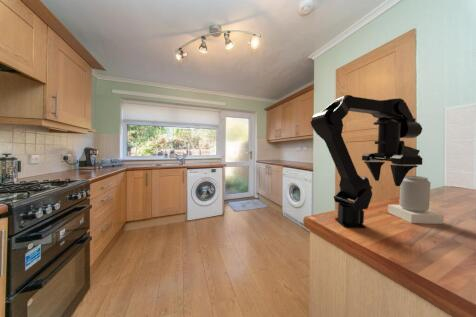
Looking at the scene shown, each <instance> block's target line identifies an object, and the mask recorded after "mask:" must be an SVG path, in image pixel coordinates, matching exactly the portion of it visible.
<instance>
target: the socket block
mask: <svg viewBox="0 0 476 317" xmlns="http://www.w3.org/2000/svg"><path fill="white" fill-rule="evenodd" d="M387 213H389V214H391V215H393V216H395V217H398V218H400V219H402V220H404V221H406V222H407V223H411V224H432V225H433V224H435V225H436V224H437V225H439V224H441V225H444V220H445V219H444V218H445V215H444V214H442V213H440V212H436V211H433V210H431V209H429V210H427V211H425V212H415V211H410V210H406V209H404V208H402V207H401V206H400V205H399V204H387Z"/></svg>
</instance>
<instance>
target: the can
mask: <svg viewBox="0 0 476 317" xmlns="http://www.w3.org/2000/svg"><path fill="white" fill-rule="evenodd" d="M428 179H429V178H428V177H426V176H418V175H406V176H405V178H404V179H403V181H402V183H401V185H400V186H399V201H398V202H399V204H398V205H400V206H401V207H402V208H404V209H406V210H410V211H415V212H425V211H427V210H430V196H431V184H432V182H431V181H430V180H428Z"/></svg>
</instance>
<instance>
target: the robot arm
mask: <svg viewBox="0 0 476 317" xmlns="http://www.w3.org/2000/svg"><path fill="white" fill-rule="evenodd" d="M349 112H352V113H353V112H354V113H362V114H369V115H371V116H372V117H373V118H376V119H377V120H375V121H374V122H373V125H376V126H378V128H377V129H378V130H377V131H378V133H377V140H376V141H374V145H377V150H376V151H377V152H374V153H370V152H368V153H367V152H366V153H364V154H362V155H361V161H363V162H364V164H365V165H366V167H367V168H368V169H369V171H370V174H371V175H372V177H373V179H374V181H375V182H377V181H380V176H381V171H382V170H381V169H382V166H383V165H384V164H385V163H386V162H391V164H390V170H391V174H392V178H393V183H394V186H396V187H400V185H401V183H402V181H403V179H404V178H405V176H407V174H408V173H409V171H411V170H412V169H414V168H418V167H419V166H420V165H421V166H423V157H422V156H420V155H419V154H420V149H417V148H413V147H411V146H406V145H405V141H404V140H401V139H415V138H418V137H419V136H420V135H421V134H422V132H423V127H422V125H421V124H420V123H419V122H417V121H416V120H417V119H416V118H415V117H414V116H413V114H412V112H411V110H410V108H409V106H408V105H407V102H406V101H405V100H404V99H403V98H391V99H382V100H381V99H374V98H366V97H359V96H353V95H350V94H346V95H343V96H340V97H337V98H336V99H334V101H333V102H331V103H330V104H329V105H328V106H326V107H325V108H324V109H322V110H321V111H319V112H316V113H315V114H314V115H312V117H311V120H310V125H311V128H312V129H313V131H314V132H315V134H316V135H317V136H319V137H320V138H321V139H322V140H323V141H324V142H325V144H326V148H327V149H328V152H329V155H330V156H331V159H332V160H333V163H334V165H335V168H336V171H337V173H338V175H339V177H340V180H339V184H338V185H339V186H338V187H339V190H338V191H337V192H336V193H335V194H334V196H333V200H334V202H335V203H337V217H335V220H336V221H337V222H338V223H339V224H340V225H342V226H343V227H345V228H361V229H363V228H366V225H365V224H364V222H365V220H364V219H365V211H364V210H368V208H369V206H370V202H371V200H372V196H373V191H372V189H373V186H371V184H370V183H371V182H370V180H369V178H368V177H367V176H360V175H359V173H358V172H357V169H356V167H355V165H354V162H353V160H352V157H351V155H350V153H349V149H348V148H347V145H346V143H345V140H344V137H343V136H342V134H343V128H344V123H343V119H344V118H345V117H346V116H347V115H349V114H348V113H349Z"/></svg>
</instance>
